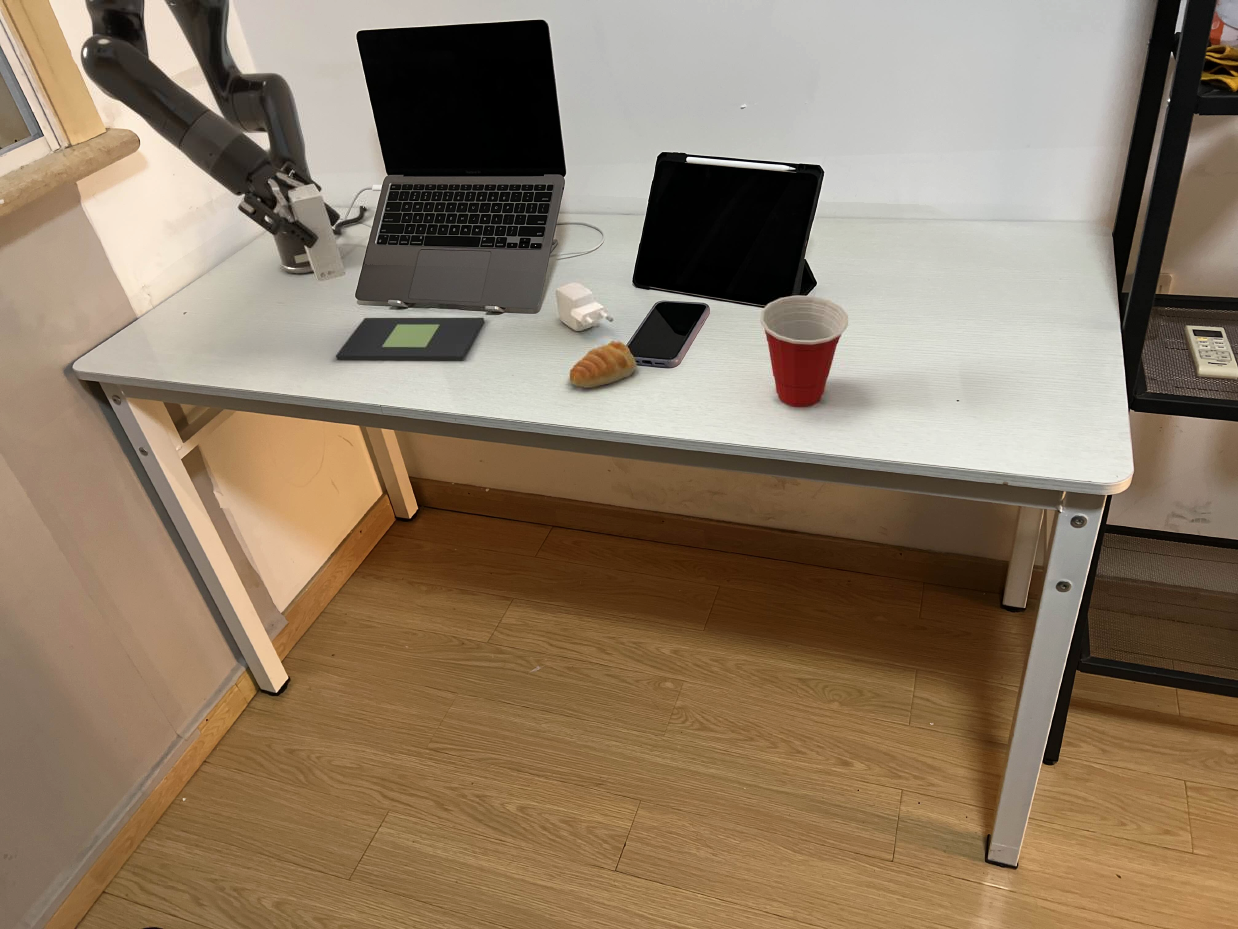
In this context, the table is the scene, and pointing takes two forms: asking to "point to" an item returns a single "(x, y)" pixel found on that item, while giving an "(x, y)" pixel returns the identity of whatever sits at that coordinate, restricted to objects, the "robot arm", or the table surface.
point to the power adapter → (579, 307)
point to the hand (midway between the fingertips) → (326, 232)
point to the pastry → (603, 366)
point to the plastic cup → (802, 345)
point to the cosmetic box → (317, 231)
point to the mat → (411, 339)
